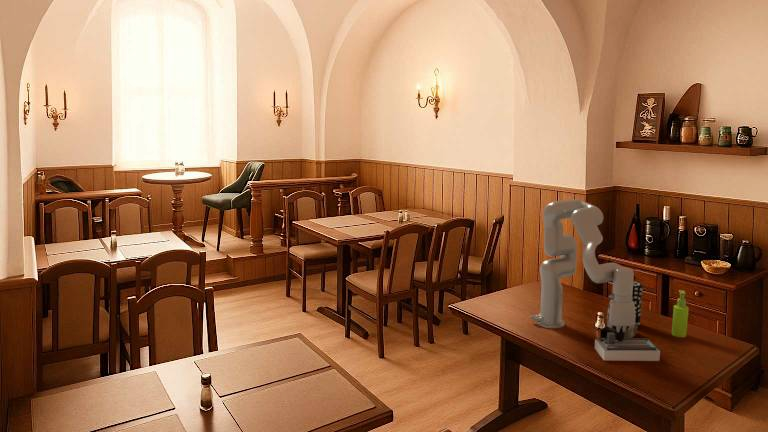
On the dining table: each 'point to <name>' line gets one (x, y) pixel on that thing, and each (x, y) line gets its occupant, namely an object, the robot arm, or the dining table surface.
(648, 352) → the box
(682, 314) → the soap dispenser
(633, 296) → the spotted tube
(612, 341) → the handle
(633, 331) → the juice carton
